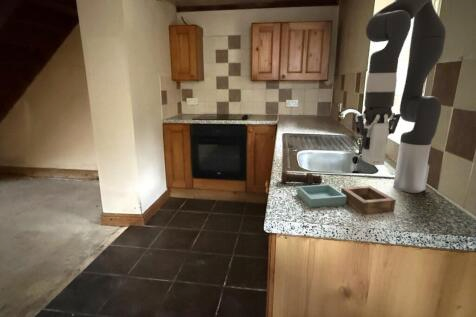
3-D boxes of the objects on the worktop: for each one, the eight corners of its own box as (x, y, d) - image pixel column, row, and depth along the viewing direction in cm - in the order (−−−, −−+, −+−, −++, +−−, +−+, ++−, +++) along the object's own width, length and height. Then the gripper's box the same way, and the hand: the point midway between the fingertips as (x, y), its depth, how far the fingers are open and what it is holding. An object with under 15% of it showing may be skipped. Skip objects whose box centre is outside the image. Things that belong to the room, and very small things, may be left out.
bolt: (320, 189, 107) (281, 187, 108) (319, 179, 110) (281, 177, 111) (323, 179, 103) (282, 177, 104) (322, 169, 106) (282, 167, 107)
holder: (368, 196, 95) (370, 185, 94) (393, 212, 84) (395, 199, 83) (340, 199, 93) (341, 187, 92) (362, 215, 82) (363, 202, 81)
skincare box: (384, 165, 82) (390, 124, 79) (370, 165, 82) (374, 124, 78) (373, 159, 88) (378, 120, 85) (359, 159, 88) (364, 121, 84)
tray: (328, 192, 99) (329, 184, 98) (345, 204, 89) (346, 196, 88) (296, 194, 97) (297, 186, 96) (310, 208, 87) (311, 199, 86)
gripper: (393, 89, 84) (385, 144, 88) (349, 90, 81) (344, 147, 86) (412, 89, 77) (403, 150, 81) (366, 91, 74) (359, 153, 79)
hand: (373, 148), depth 84 cm, fingers closed on skincare box, 4 cm apart
